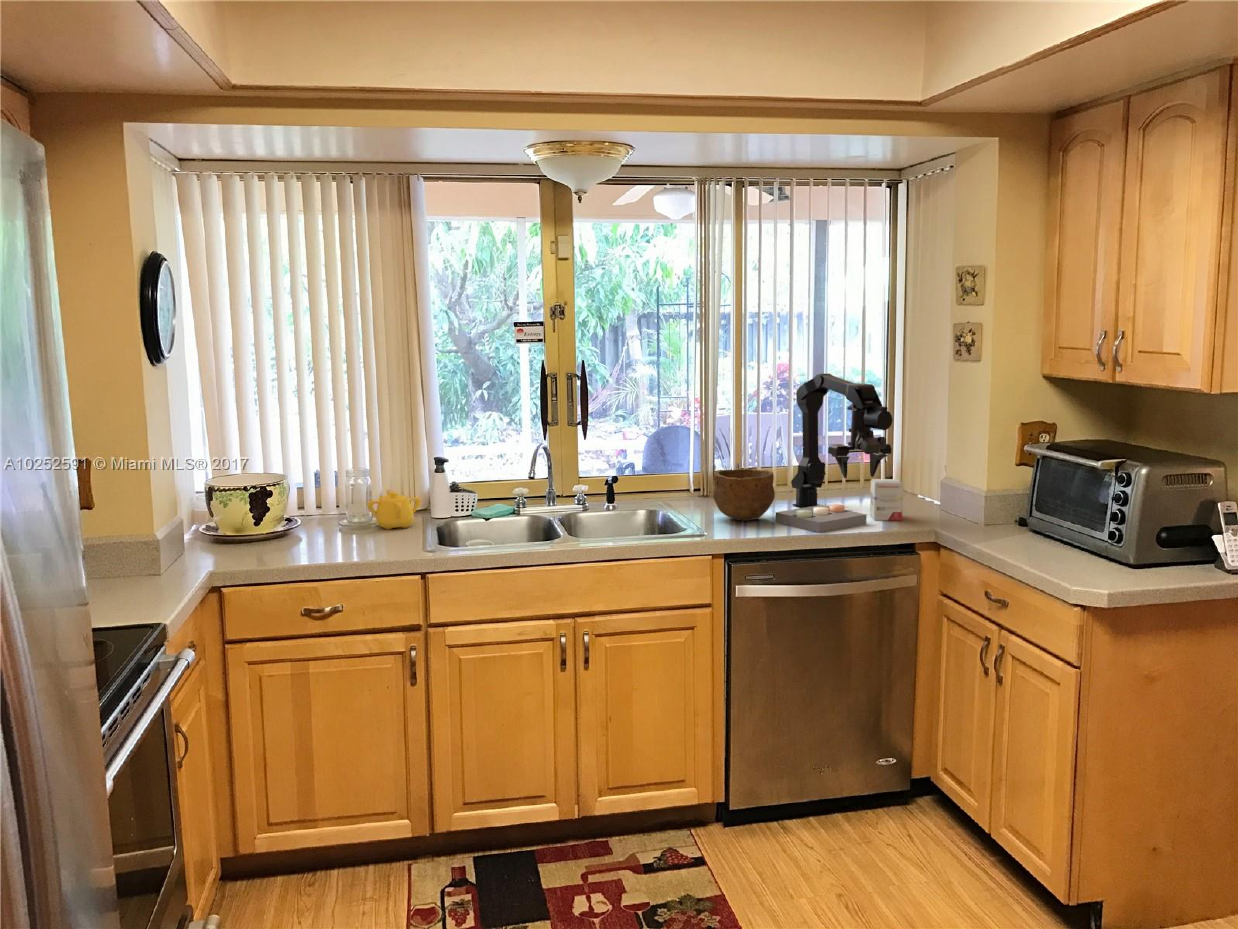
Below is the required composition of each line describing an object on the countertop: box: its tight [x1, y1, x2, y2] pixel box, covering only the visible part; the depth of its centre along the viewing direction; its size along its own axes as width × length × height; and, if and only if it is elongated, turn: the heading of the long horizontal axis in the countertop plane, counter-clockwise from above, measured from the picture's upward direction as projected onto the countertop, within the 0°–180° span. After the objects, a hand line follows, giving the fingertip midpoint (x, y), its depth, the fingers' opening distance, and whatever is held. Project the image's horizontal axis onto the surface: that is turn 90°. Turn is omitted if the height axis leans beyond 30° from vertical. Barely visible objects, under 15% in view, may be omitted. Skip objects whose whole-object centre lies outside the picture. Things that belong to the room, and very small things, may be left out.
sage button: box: [797, 510, 812, 519], centre depth 289 cm, size 4×4×3 cm
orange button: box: [829, 503, 846, 513], centre depth 297 cm, size 4×4×3 cm
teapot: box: [366, 489, 422, 530], centre depth 290 cm, size 14×13×10 cm
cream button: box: [813, 507, 828, 516], centre depth 293 cm, size 4×4×3 cm
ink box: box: [869, 478, 904, 521], centre depth 300 cm, size 9×9×12 cm
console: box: [774, 504, 867, 533], centre depth 293 cm, size 18×20×3 cm
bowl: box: [712, 468, 776, 521], centre depth 297 cm, size 19×19×15 cm
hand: (858, 477), depth 294 cm, fingers open, 9 cm apart
